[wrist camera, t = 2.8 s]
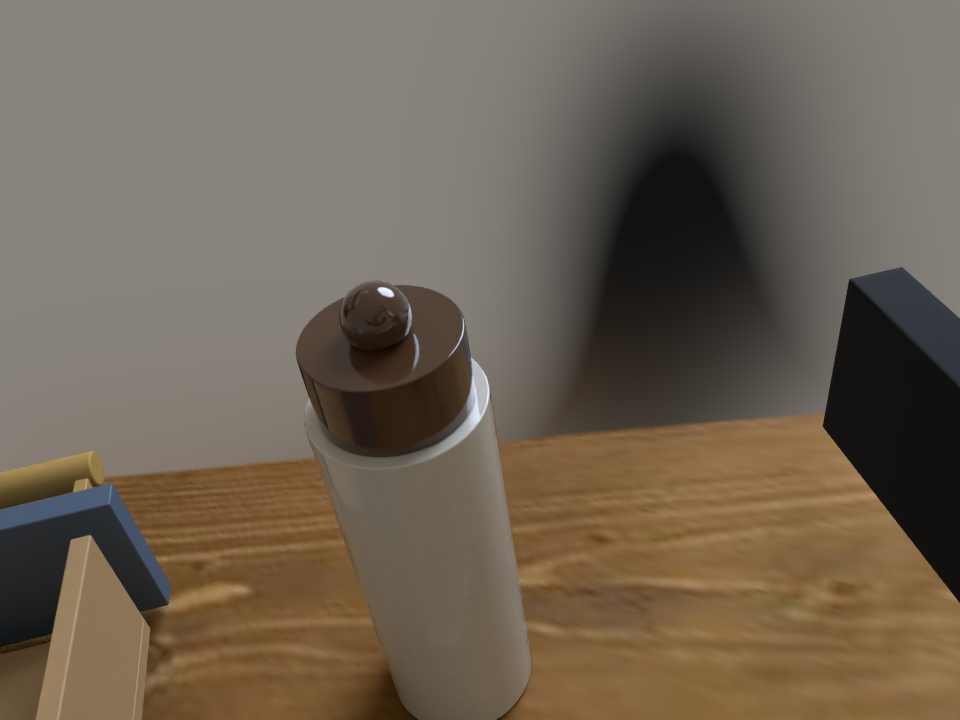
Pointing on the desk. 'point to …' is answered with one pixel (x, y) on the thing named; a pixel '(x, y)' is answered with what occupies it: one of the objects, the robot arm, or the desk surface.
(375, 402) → the salt mill
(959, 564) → the robot arm
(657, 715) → the desk surface
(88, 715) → the drawer
